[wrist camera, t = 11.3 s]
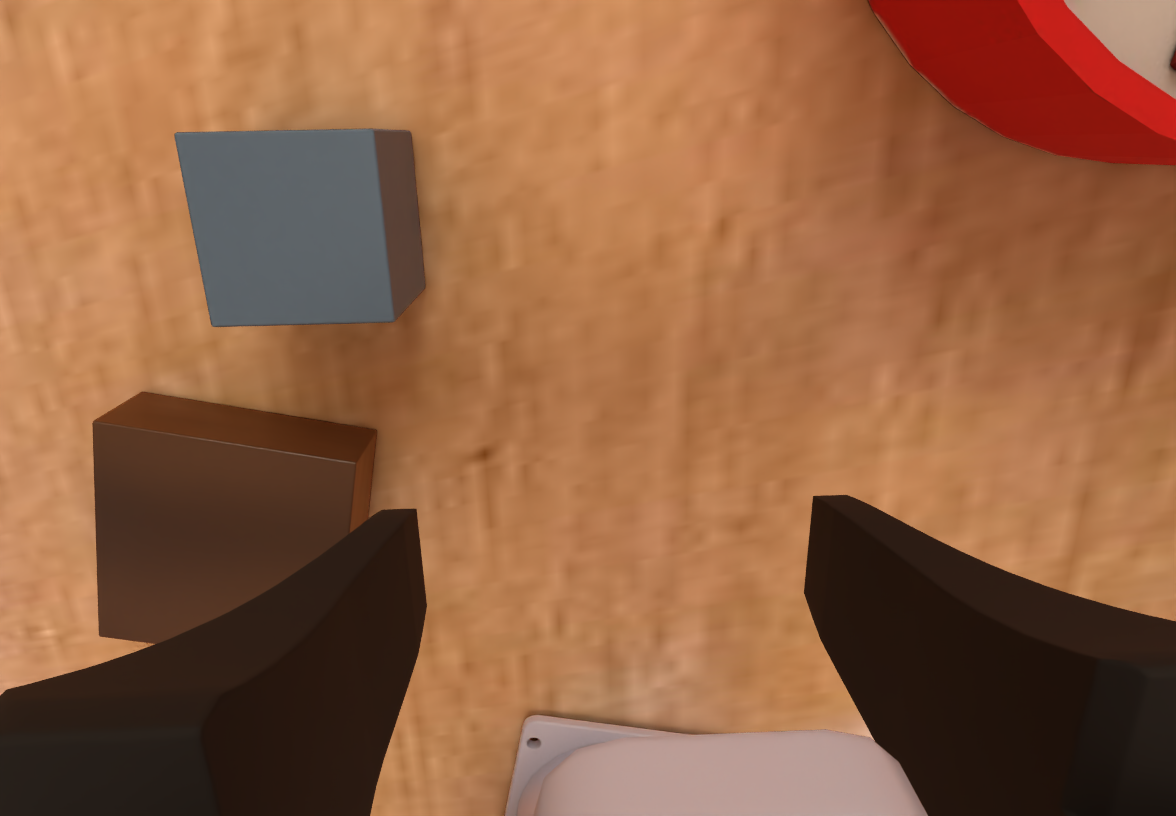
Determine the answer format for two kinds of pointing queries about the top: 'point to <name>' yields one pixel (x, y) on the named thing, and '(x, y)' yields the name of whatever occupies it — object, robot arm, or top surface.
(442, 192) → the top surface
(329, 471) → the walnut tile
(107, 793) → the robot arm
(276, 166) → the grey cube
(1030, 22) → the toy clock
